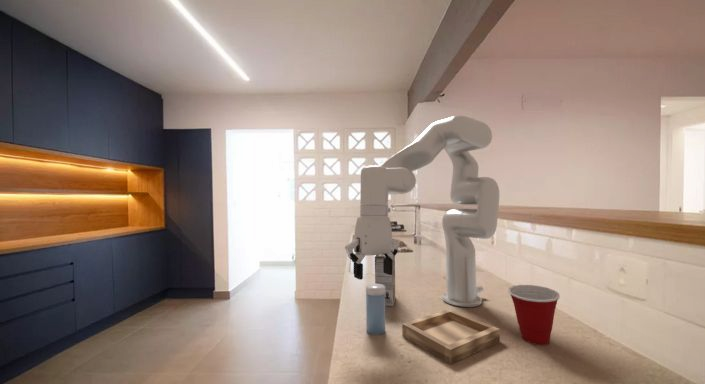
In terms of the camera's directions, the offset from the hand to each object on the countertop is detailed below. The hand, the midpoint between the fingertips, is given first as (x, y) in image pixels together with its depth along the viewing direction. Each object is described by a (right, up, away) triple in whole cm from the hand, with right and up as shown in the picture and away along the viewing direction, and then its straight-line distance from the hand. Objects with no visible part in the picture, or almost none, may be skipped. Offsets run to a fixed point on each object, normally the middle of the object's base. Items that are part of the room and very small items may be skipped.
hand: (373, 276), depth 74 cm
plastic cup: (+39, -14, -6) cm, 42 cm away
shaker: (+1, -14, 0) cm, 14 cm away
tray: (+19, -14, -5) cm, 24 cm away
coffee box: (+6, -16, +22) cm, 27 cm away
